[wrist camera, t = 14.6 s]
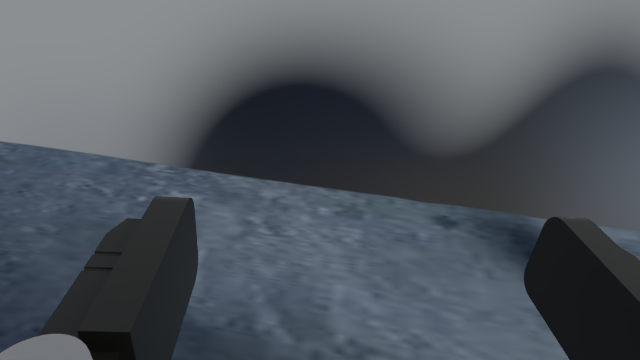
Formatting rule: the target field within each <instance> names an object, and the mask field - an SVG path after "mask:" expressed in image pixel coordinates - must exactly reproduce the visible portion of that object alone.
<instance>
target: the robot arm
mask: <svg viewBox="0 0 640 360" xmlns="http://www.w3.org/2000/svg"><path fill="white" fill-rule="evenodd" d="M197 267H198V249H197V235H196V222H195V209H194V202H193V200H192V198H180V197H160V196H156V197H154V198H153V200H152V202H151V203H150V205H149V207H148V208H147V210H146V212H145V214H144V215H143V217H142V219H128V218H127V219H126V220H124V221H123V222H122V223H120V224H119V225H118V226H116V227H115V228H113V229H112V230H111V231H109V232H108V233H107V234H106V235H105V237H104V238H103V240H102V241H101V243H100V244H99V246H98V247H97V249H96V250H95V254H94V255H92V256H91V258H90V259H89V261H88V262H87V264H86V265H85V268H84V271H81V273H80V274H79V276H78V277H77V279H76V280H75V282H74V283H73V285H72V286H71V288H70V289H69V291H68V292H67V294H66V295H65V297H64V298H63V300H62V301H61V303H60V304H59V306H58V307H57V309H56V310H55V312H54V313H53V315H52V316H51V318H50V319H49V321H48V322H47V324H46V325H45V327H44V328H43V330H42V331H41V333H40V334H39V335H38V336H37V337H33V338H30V339H27V340H24V341H22V342H19V343H17V344H15V345H13V346H11V347H9V348H8V349H6V350H4V351H3V352H1V353H0V360H171V357H172V354H173V351H174V348H175V345H176V341H177V338H178V335H179V332H180V329H181V325H182V322H183V319H184V316H185V313H186V309H187V306H188V303H189V300H190V297H191V293H192V290H193V287H194V284H195V280H196V275H197ZM524 283H525V288H526V291H527V294H528V295H529V297H530V299H531V300H532V302H533V303H534V305H535V306H536V308H537V310H538V311H539V313H540V314H541V316H542V317H543V319H544V320H545V322H546V323H547V325H548V327H549V328H550V330H551V331H552V333H553V334H554V336H555V337H556V339H557V341H558V342H559V344H560V345H561V347H562V348H563V350H564V351H565V353H566V355H567V356H568V358H569V359H570V360H640V261H639V260H638V259H637V258H636V257H635V256H633V255H632V254H630V253H628V252H627V251H625V250H624V249H622V248H620V247H619V246H618V245H616V244H615V243H614V242H613V241H612V240H611V239H610V238H609V237H608V236H607V235H606V234H605V233H604V232H603V231H602V230H601V229H600V228H599V227H598V226H597V225H596V224H595V223H593V222H592V221H591V220H589V219H585V218H566V217H552V218H550V219H548V220H547V221H546V223H545V224H544V226H543V228H542V231H541V233H540V235H539V238H538V240H537V242H536V245H535V247H534V249H533V252H532V254H531V257H530V259H529V261H528V264H527V266H526V269H525V273H524Z"/></svg>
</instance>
